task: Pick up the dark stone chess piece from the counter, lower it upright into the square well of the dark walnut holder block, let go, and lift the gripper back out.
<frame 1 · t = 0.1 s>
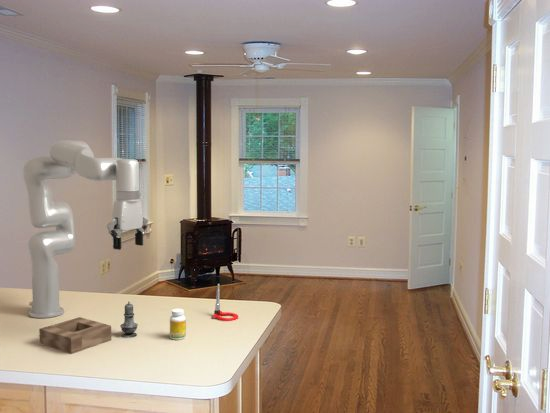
hand: (128, 247, 201), 31 cm above the kitchen counter, tool pointing down, fingers open, 9 cm apart
dark stone chess piece: (129, 335, 206), on the kitchen counter
well block: (76, 341, 198), on the kitchen counter
tow hook: (226, 318, 228), on the kitchen counter
supplement bottle: (177, 338, 204), on the kitchen counter
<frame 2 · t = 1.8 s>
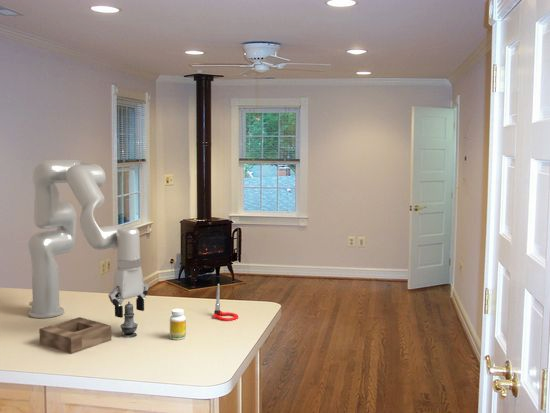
hand: (129, 313, 205), 8 cm above the kitchen counter, tool pointing down, fingers open, 9 cm apart
nothing on the kitchen counter moved.
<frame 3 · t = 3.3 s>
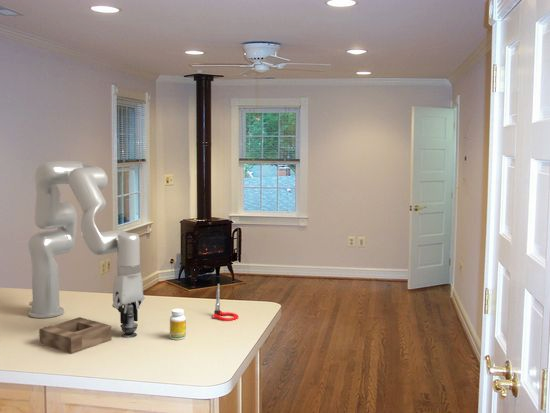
hand: (129, 321, 205), 5 cm above the kitchen counter, tool pointing down, fingers closed on dark stone chess piece, 3 cm apart
dark stone chess piece: (129, 335, 206), on the kitchen counter, touching gripper
everything else where it was.
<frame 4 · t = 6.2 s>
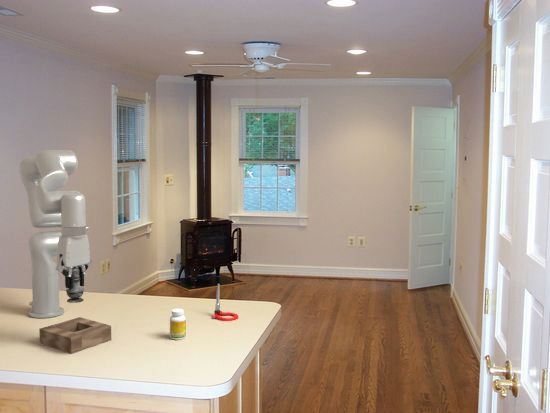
hand: (74, 286, 196), 19 cm above the kitchen counter, tool pointing down, fingers closed on dark stone chess piece, 3 cm apart
dark stone chess piece: (75, 301, 197), point 14 cm above the kitchen counter, touching gripper
everything else where it was.
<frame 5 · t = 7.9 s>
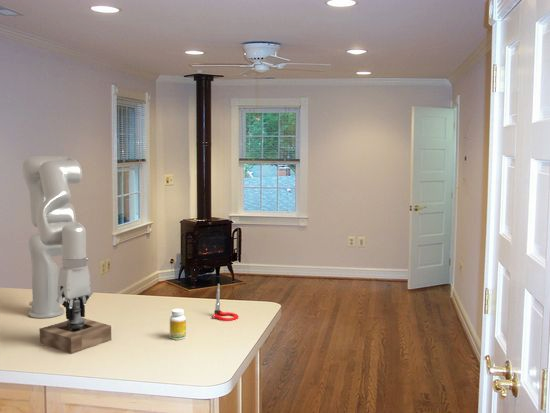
hand: (75, 317, 197), 8 cm above the kitchen counter, tool pointing down, fingers closed on dark stone chess piece, 3 cm apart
dark stone chess piece: (76, 332, 198), point 3 cm above the kitchen counter, touching gripper
everything else where it was.
when the fingers open (6 cm above the kitchen counter, at t = 9.1 s): dark stone chess piece drops 1 cm, resting in well block.
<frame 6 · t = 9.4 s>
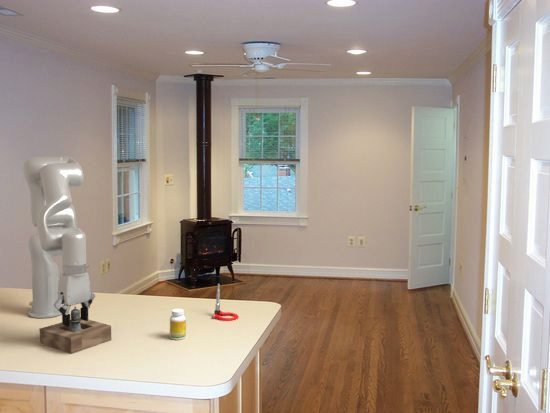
hand: (75, 322, 197), 7 cm above the kitchen counter, tool pointing down, fingers open, 6 cm apart
dark stone chess piece: (75, 342, 198), resting in well block
everything else where it was.
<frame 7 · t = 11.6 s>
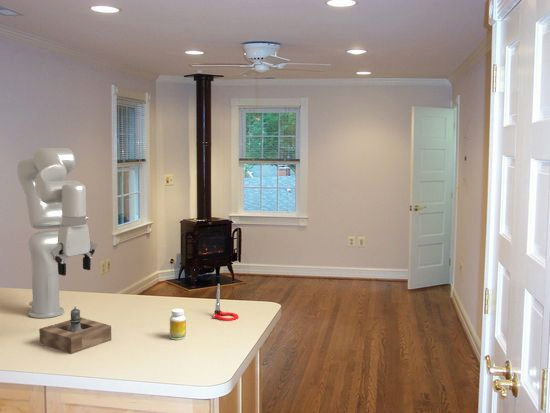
hand: (74, 272, 199), 23 cm above the kitchen counter, tool pointing down, fingers open, 9 cm apart
nothing on the kitchen counter moved.
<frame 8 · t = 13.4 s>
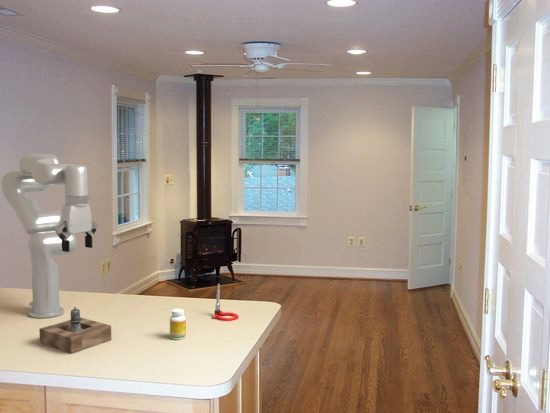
hand: (77, 249, 209), 28 cm above the kitchen counter, tool pointing down, fingers open, 9 cm apart
nothing on the kitchen counter moved.
at the end: dark stone chess piece 0.1 cm off-centre on the well block, point 0.0 cm above the well block's base; dark stone chess piece tilted 0°; the gripper is holding nothing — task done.
